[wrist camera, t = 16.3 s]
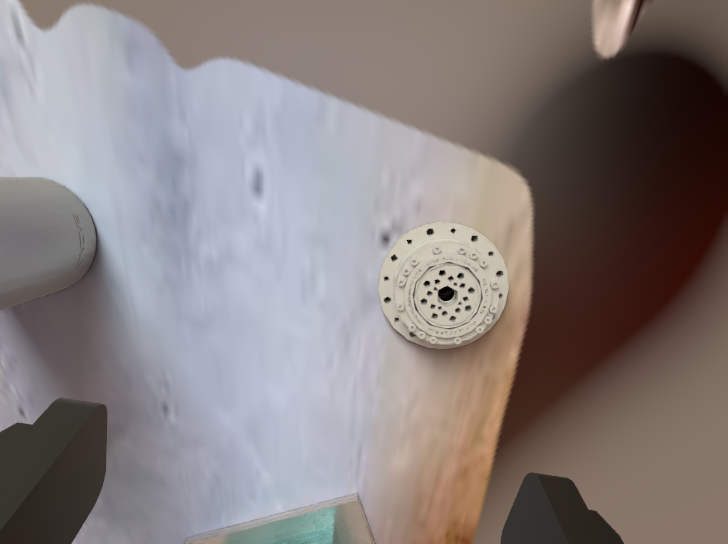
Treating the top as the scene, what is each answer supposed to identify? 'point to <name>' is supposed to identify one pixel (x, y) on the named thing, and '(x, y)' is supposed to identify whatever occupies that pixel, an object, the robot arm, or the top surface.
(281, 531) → the tray
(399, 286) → the mechanical component
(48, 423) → the robot arm
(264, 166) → the top surface
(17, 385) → the top surface
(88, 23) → the top surface
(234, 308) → the top surface
